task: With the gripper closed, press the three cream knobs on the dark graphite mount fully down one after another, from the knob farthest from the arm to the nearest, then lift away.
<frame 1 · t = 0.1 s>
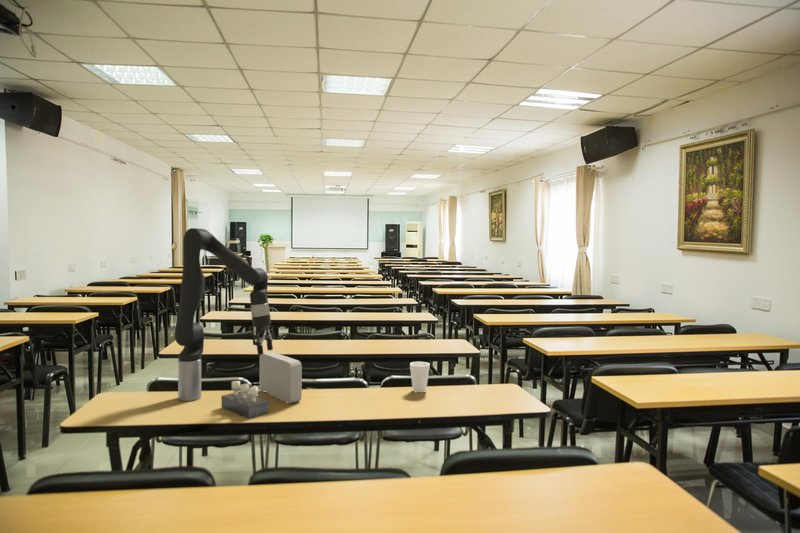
hand: (265, 352, 198), 22 cm above the table, tool pointing down, fingers open, 8 cm apart
rounded white slab: (279, 396, 210), on the table
foam cup: (419, 391, 220), on the table
knob 1: (253, 397, 186), point 7 cm above the table, slide at 0.0 cm
knob 3: (235, 390, 194), point 7 cm above the table, slide at 0.0 cm
knob 2: (244, 393, 190), point 7 cm above the table, slide at 0.0 cm
mount: (244, 410, 190), on the table
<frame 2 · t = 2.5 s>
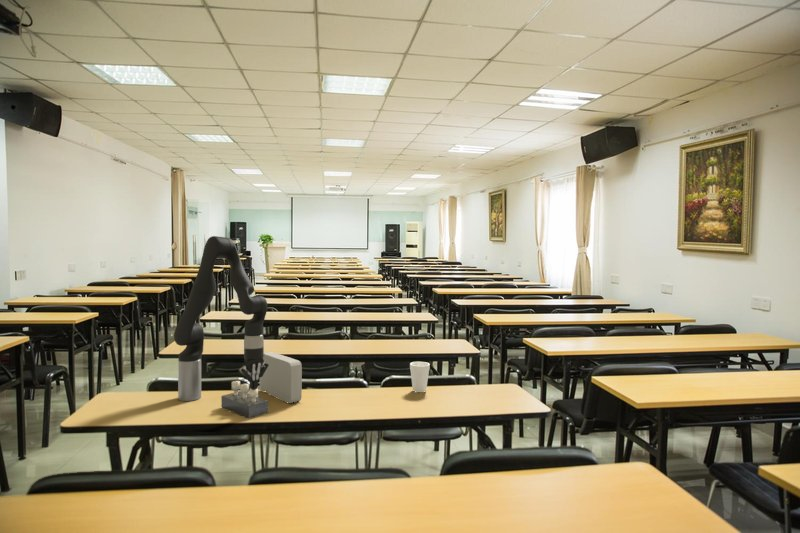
hand: (253, 388, 186), 10 cm above the table, tool pointing down, fingers closed
knob 1: (253, 398, 186), point 6 cm above the table, slide at 0.6 cm, touching gripper
everything else where it was.
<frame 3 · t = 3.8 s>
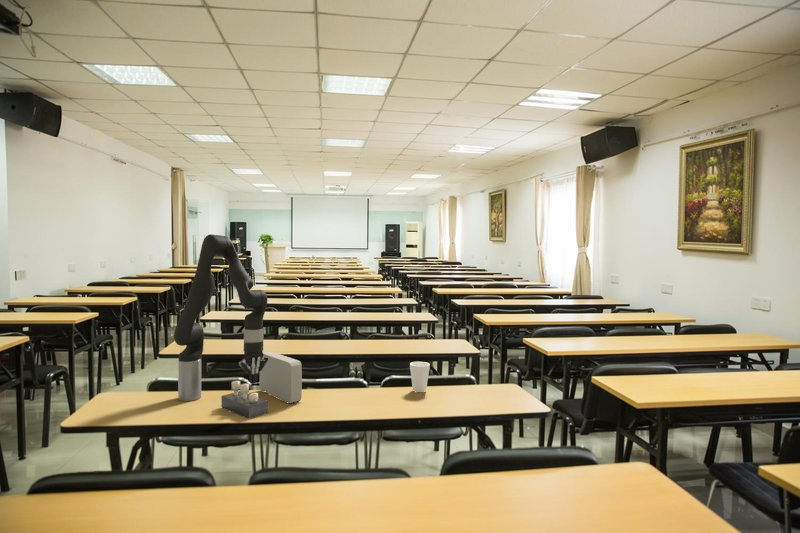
hand: (253, 382, 186), 13 cm above the table, tool pointing down, fingers closed
knob 1: (253, 403, 186), point 4 cm above the table, slide at 2.5 cm
everything else where it was.
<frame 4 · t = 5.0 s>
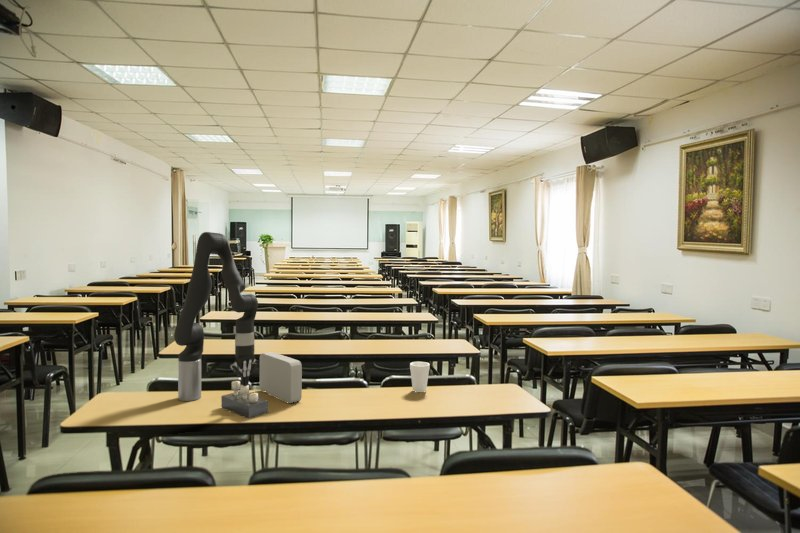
hand: (244, 385, 190), 10 cm above the table, tool pointing down, fingers closed
knob 2: (244, 394, 190), point 7 cm above the table, slide at 0.3 cm, touching gripper
everything else where it was.
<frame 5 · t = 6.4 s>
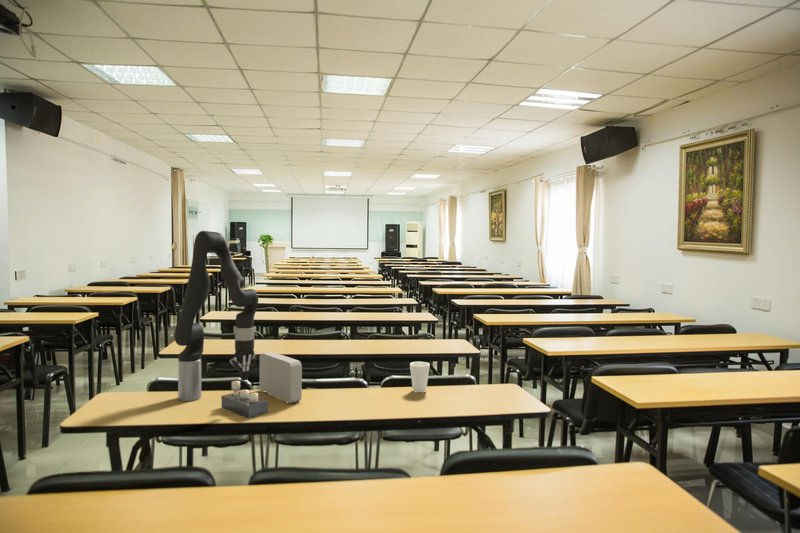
hand: (244, 379, 190), 13 cm above the table, tool pointing down, fingers closed
knob 2: (244, 399, 190), point 4 cm above the table, slide at 2.5 cm
everything else where it was.
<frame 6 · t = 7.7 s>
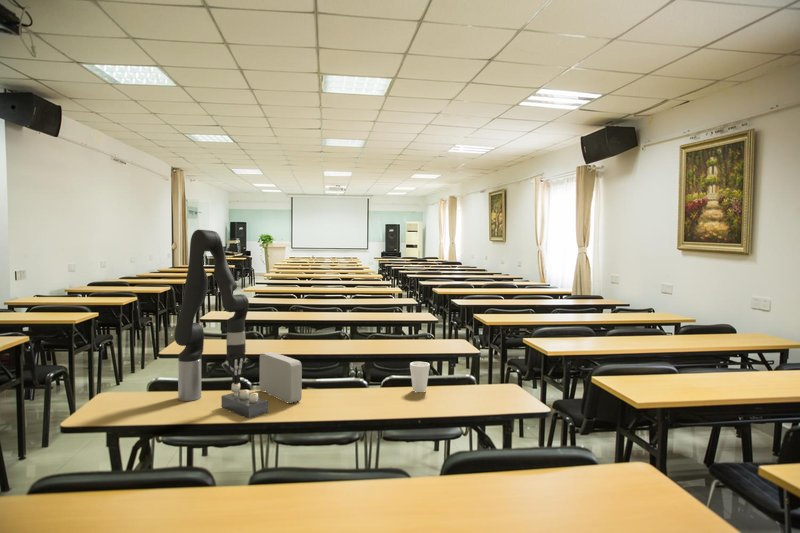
hand: (236, 383, 194), 10 cm above the table, tool pointing down, fingers closed
knob 3: (235, 392, 194), point 6 cm above the table, slide at 0.8 cm, touching gripper
everything else where it was.
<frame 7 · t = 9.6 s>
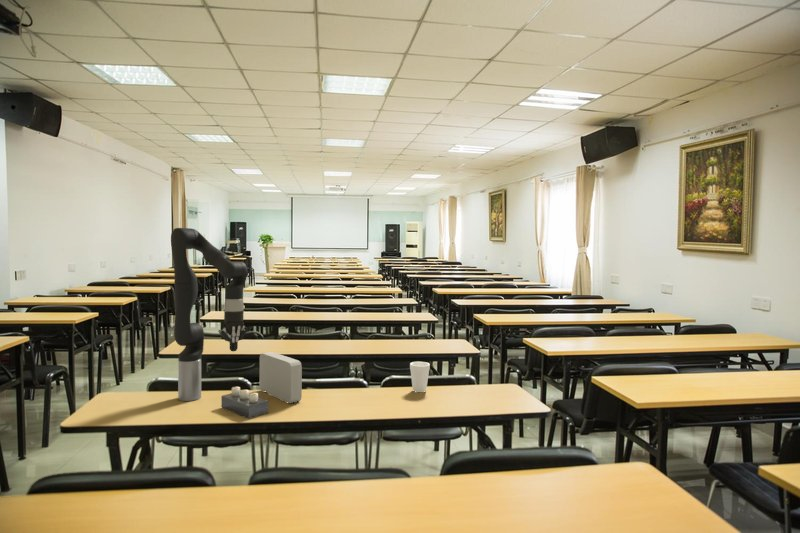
hand: (233, 351, 193), 24 cm above the table, tool pointing down, fingers closed
knob 3: (235, 396, 194), point 4 cm above the table, slide at 2.5 cm, touching mount
everything else where it was.
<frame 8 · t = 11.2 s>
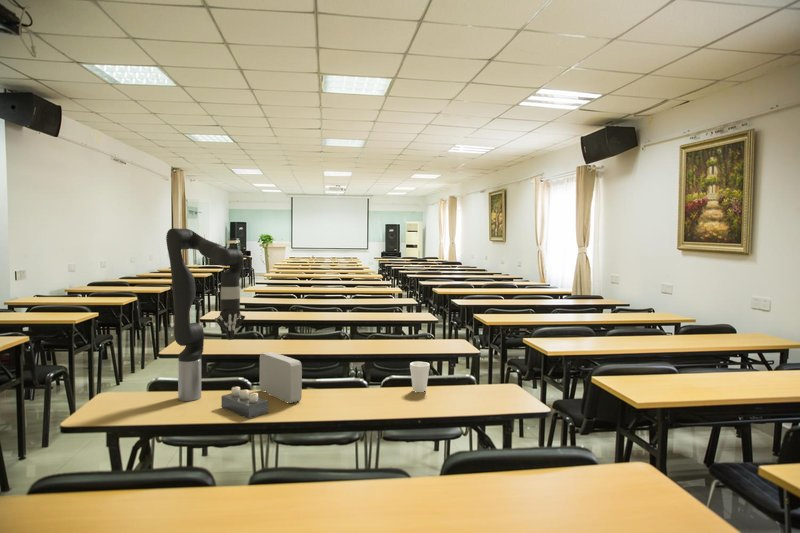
hand: (230, 339, 191), 29 cm above the table, tool pointing down, fingers closed
nothing on the table moved.
at the end: knob 1 slide at 2.5 cm; knob 2 slide at 2.5 cm; knob 3 slide at 2.5 cm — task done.
